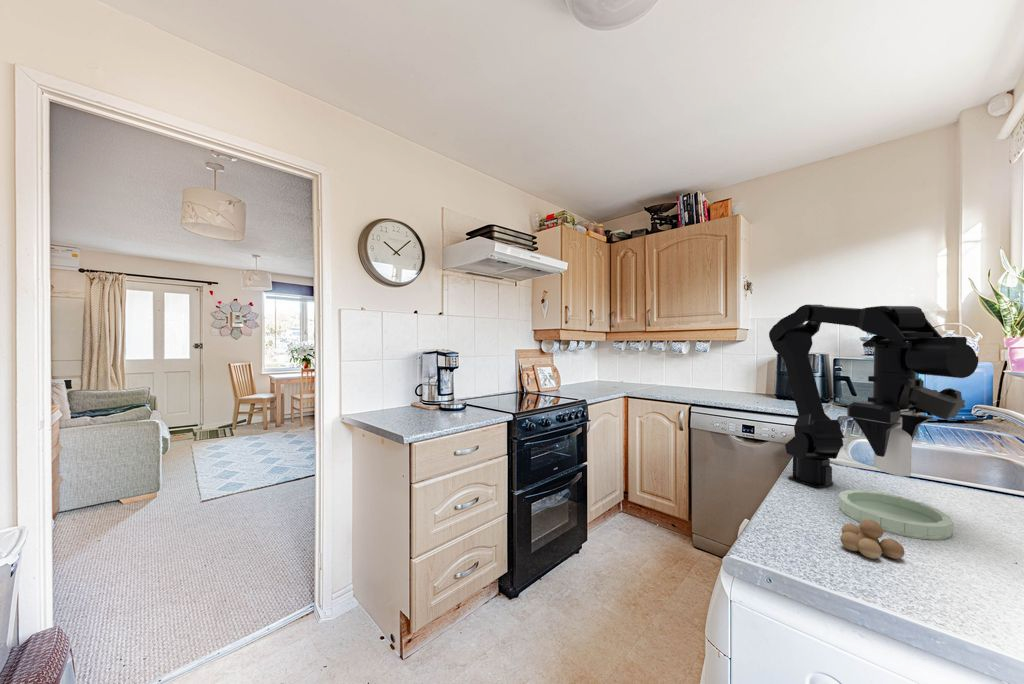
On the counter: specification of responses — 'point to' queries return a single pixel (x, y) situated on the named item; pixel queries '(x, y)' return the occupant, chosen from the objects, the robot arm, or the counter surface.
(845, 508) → the sage dish
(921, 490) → the counter surface
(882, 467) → the eye dropper bottle
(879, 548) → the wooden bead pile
